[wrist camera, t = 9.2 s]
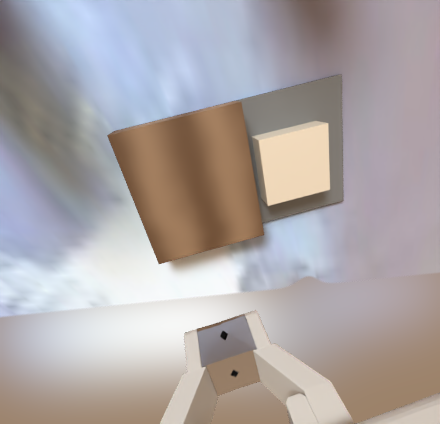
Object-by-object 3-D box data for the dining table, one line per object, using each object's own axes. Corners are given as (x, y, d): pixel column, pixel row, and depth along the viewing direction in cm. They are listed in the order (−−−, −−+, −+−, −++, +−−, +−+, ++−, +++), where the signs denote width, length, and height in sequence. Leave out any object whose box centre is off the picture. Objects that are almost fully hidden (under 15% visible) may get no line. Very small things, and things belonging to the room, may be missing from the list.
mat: (256, 222, 32) (257, 224, 31) (234, 100, 26) (235, 101, 25) (341, 199, 32) (343, 200, 32) (339, 74, 26) (341, 74, 26)
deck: (160, 249, 31) (159, 264, 29) (114, 131, 25) (107, 135, 22) (256, 222, 32) (264, 234, 29) (234, 100, 26) (241, 101, 23)
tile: (260, 197, 30) (267, 205, 28) (251, 136, 27) (258, 140, 25) (318, 182, 30) (329, 189, 28) (315, 120, 27) (328, 123, 25)
